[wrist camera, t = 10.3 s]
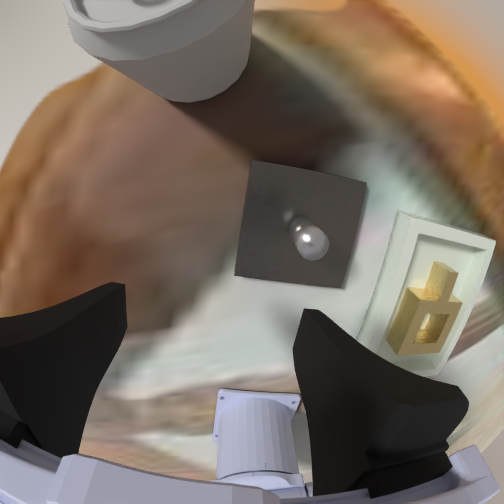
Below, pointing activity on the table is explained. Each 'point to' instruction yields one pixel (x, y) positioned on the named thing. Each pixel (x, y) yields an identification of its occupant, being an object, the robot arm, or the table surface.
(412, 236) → the tray
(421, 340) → the square frame with tab
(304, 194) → the square base with knob
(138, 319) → the table surface
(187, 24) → the can
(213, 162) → the table surface
